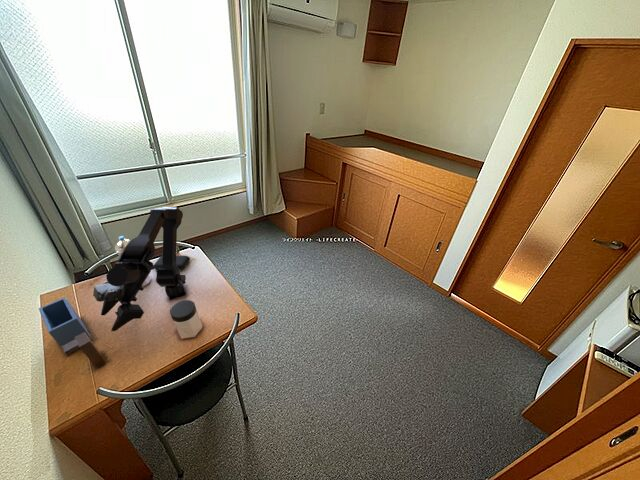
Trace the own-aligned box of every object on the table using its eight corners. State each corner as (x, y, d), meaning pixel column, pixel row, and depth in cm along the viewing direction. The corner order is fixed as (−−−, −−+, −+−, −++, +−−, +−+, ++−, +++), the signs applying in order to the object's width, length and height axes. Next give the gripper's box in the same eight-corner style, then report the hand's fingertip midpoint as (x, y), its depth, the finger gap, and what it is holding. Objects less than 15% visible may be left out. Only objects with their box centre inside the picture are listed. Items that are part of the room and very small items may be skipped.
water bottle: (146, 275, 119) (126, 230, 105) (153, 282, 116) (134, 236, 102) (130, 283, 114) (107, 237, 100) (137, 290, 111) (115, 244, 97)
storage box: (81, 319, 97) (65, 296, 90) (93, 340, 90) (76, 318, 84) (57, 330, 93) (38, 308, 86) (67, 354, 86) (48, 332, 79)
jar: (174, 340, 93) (165, 319, 86) (179, 322, 99) (171, 301, 92) (201, 336, 94) (194, 315, 88) (204, 318, 101) (197, 298, 94)
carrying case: (151, 272, 121) (183, 273, 122) (149, 267, 119) (181, 268, 120) (162, 258, 129) (191, 259, 130) (160, 253, 128) (190, 254, 129)
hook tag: (100, 353, 87) (84, 331, 80) (106, 362, 84) (89, 341, 78) (79, 365, 83) (60, 344, 76) (84, 375, 81) (65, 354, 74)
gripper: (95, 262, 81) (68, 306, 80) (117, 291, 72) (87, 341, 70) (132, 269, 90) (108, 308, 89) (155, 295, 81) (129, 339, 80)
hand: (107, 322), depth 82 cm, fingers open, 9 cm apart
